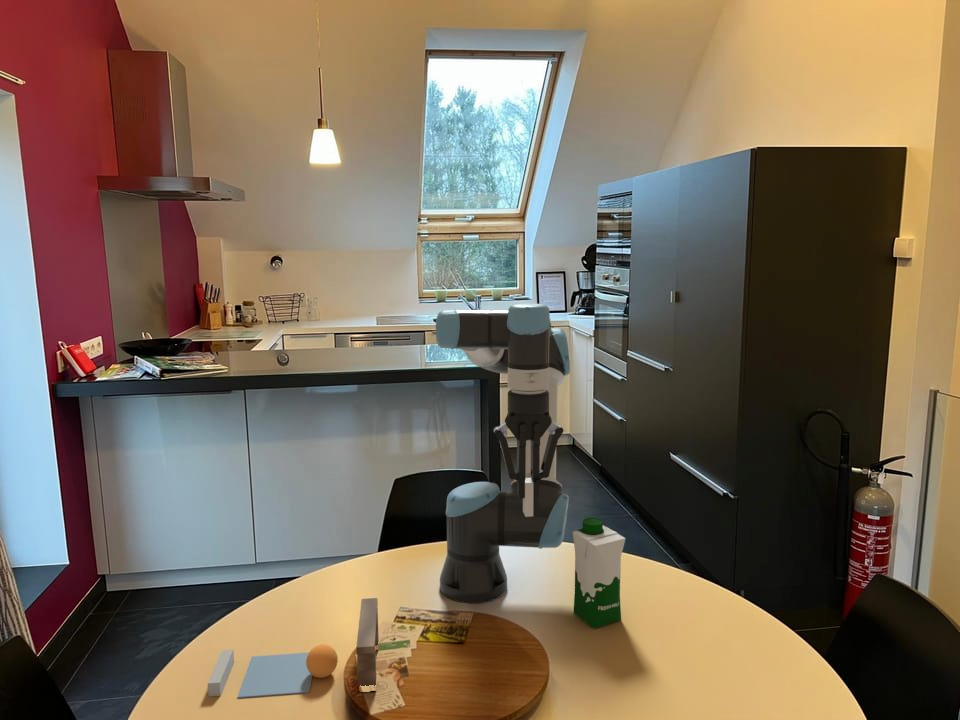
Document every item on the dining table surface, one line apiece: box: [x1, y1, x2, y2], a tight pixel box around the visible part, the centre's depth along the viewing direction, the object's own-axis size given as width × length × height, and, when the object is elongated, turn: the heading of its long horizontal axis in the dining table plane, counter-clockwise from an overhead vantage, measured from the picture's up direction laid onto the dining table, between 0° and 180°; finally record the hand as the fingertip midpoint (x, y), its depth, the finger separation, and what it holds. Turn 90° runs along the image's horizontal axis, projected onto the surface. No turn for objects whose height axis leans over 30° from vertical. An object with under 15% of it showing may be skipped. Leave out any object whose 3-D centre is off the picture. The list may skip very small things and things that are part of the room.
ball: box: [306, 644, 339, 679], centre depth 126 cm, size 6×6×6 cm
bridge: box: [355, 597, 380, 686], centre depth 128 cm, size 3×16×9 cm, turn 6°
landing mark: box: [237, 652, 314, 699], centre depth 127 cm, size 12×12×1 cm
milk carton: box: [572, 517, 626, 629], centre depth 143 cm, size 9×9×20 cm
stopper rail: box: [207, 648, 235, 698], centre depth 125 cm, size 10×2×2 cm, turn 6°
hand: (527, 513), depth 131 cm, fingers closed
